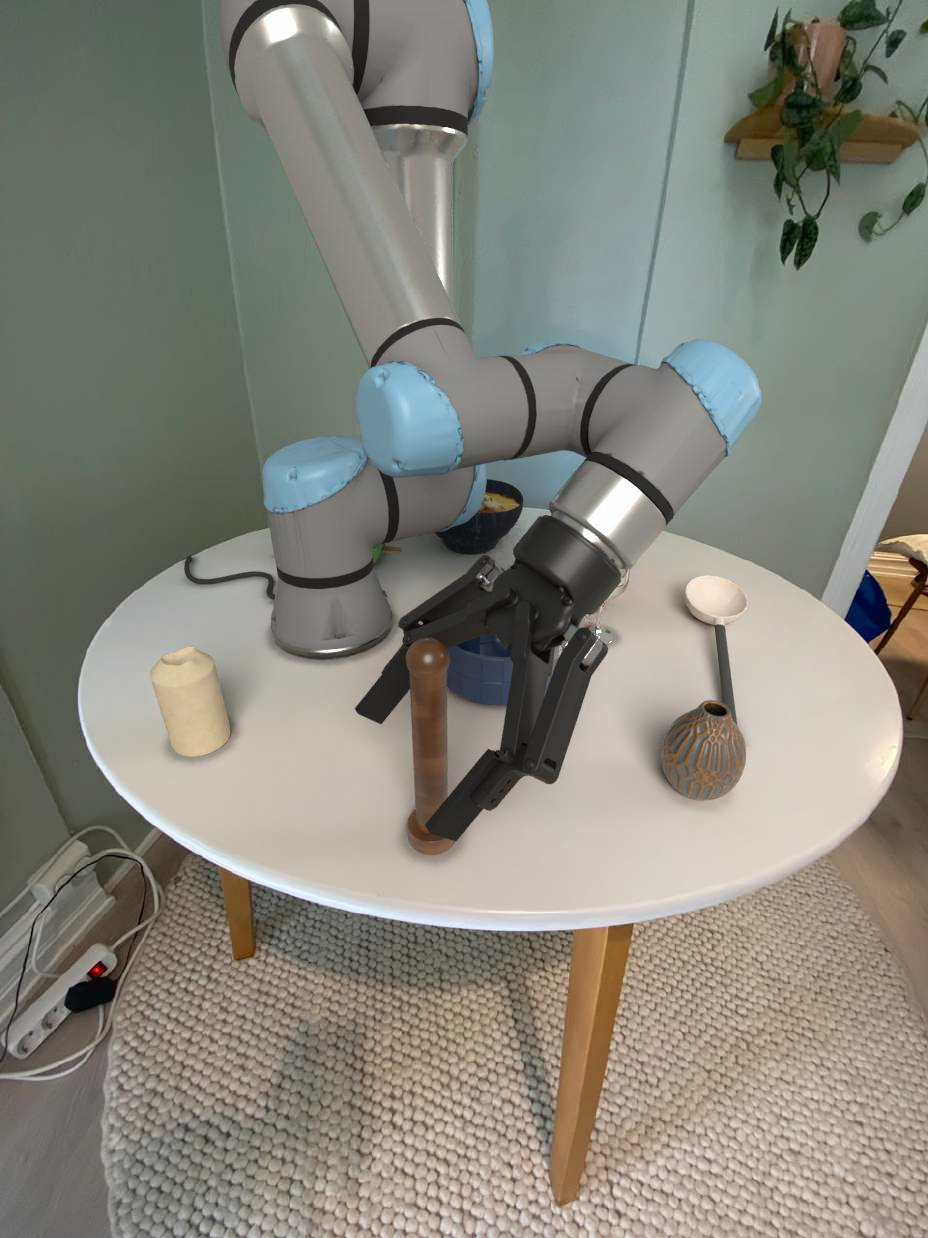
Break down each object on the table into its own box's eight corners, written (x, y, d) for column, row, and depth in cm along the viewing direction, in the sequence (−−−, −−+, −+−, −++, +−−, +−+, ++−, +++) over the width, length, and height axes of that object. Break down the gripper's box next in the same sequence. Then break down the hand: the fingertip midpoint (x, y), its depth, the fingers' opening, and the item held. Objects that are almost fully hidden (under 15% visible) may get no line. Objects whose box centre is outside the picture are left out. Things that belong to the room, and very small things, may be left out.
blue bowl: (416, 689, 67) (414, 640, 63) (468, 632, 77) (468, 587, 74) (531, 724, 62) (536, 673, 58) (570, 658, 72) (575, 611, 69)
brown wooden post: (399, 844, 49) (385, 648, 39) (422, 810, 52) (415, 620, 42) (443, 862, 47) (440, 663, 38) (464, 826, 50) (467, 633, 41)
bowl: (537, 538, 104) (542, 482, 99) (488, 575, 91) (490, 513, 86) (455, 519, 112) (455, 466, 107) (399, 550, 99) (396, 492, 94)
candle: (212, 713, 63) (191, 632, 58) (242, 735, 60) (222, 652, 55) (161, 740, 59) (133, 656, 54) (190, 766, 56) (164, 679, 51)
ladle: (737, 599, 84) (746, 573, 82) (760, 771, 61) (774, 743, 58) (679, 590, 86) (686, 565, 83) (680, 754, 63) (689, 726, 60)
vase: (682, 820, 51) (704, 742, 47) (641, 764, 57) (657, 690, 52) (751, 804, 53) (779, 727, 48) (704, 751, 58) (725, 678, 54)
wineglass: (619, 650, 74) (634, 562, 68) (572, 645, 75) (582, 557, 69) (618, 626, 79) (632, 542, 72) (574, 622, 80) (584, 538, 73)
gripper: (743, 648, 36) (519, 911, 37) (518, 516, 55) (375, 695, 56) (699, 589, 31) (443, 894, 33) (469, 466, 50) (312, 663, 51)
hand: (399, 769), depth 44 cm, fingers open, 13 cm apart
